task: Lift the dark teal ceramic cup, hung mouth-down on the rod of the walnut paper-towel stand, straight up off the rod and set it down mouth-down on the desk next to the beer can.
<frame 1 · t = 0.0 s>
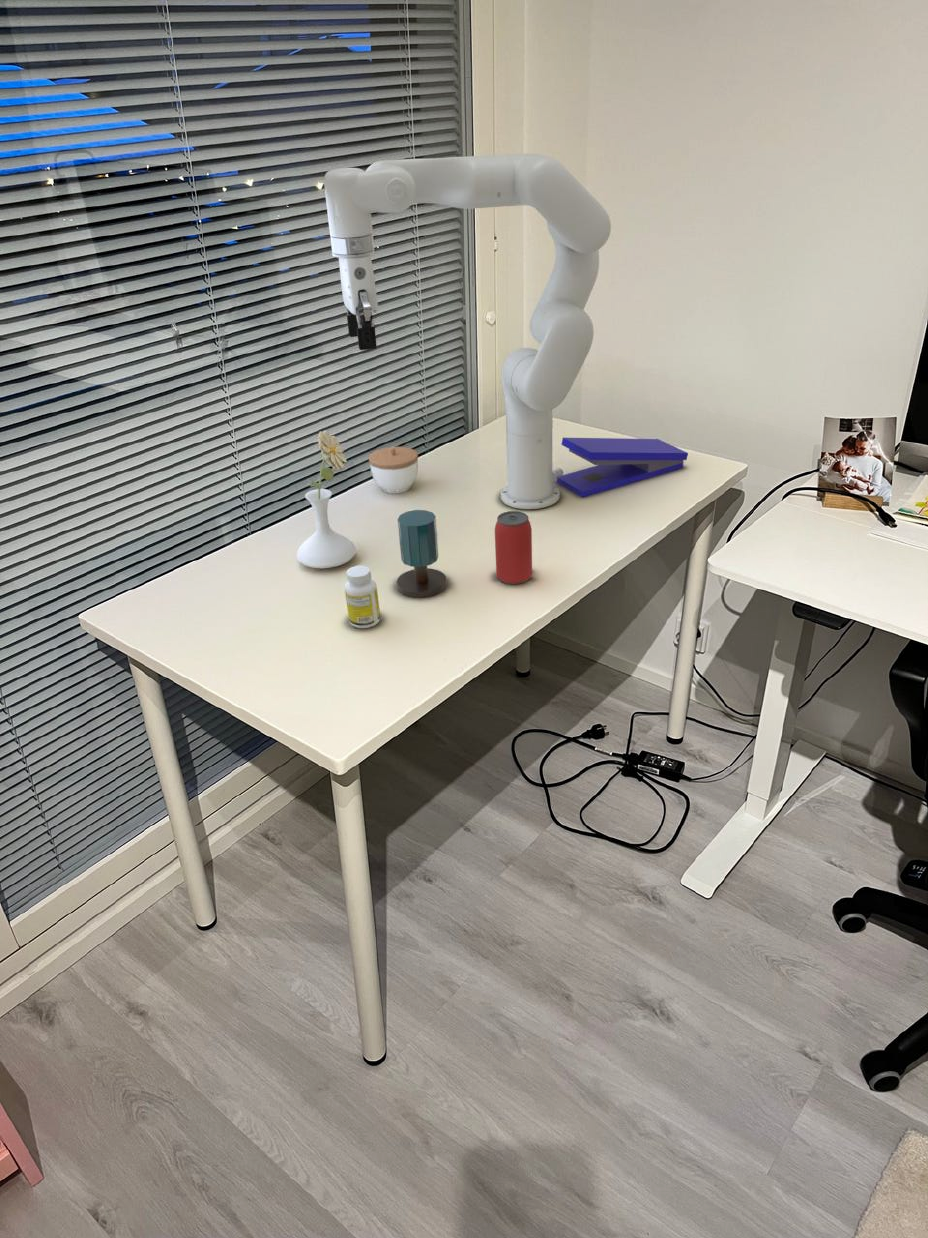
hand: (362, 342, 178), 37 cm above the table, tool pointing down, fingers open, 9 cm apart
cup: (419, 558, 172), point 6 cm above the table, touching holder
stapler: (621, 475, 213), on the table
flower in vase: (330, 559, 186), on the table
supplement bottle: (364, 621, 165), on the table
holder: (422, 585, 174), on the table
trinket box: (396, 488, 213), on the table
beer can: (514, 577, 176), on the table
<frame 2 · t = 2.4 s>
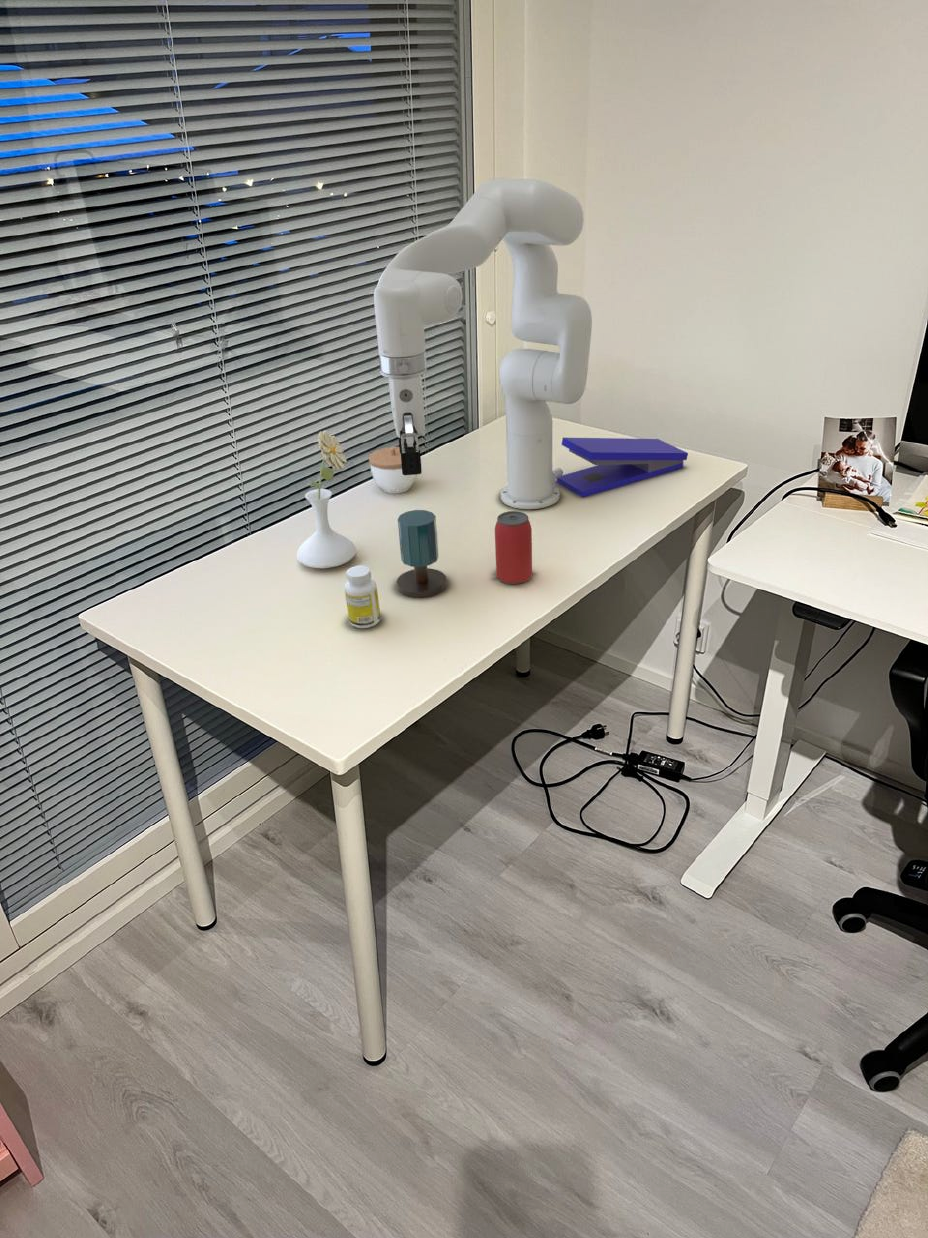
hand: (410, 463, 162), 24 cm above the table, tool pointing down, fingers open, 9 cm apart
nothing on the table moved.
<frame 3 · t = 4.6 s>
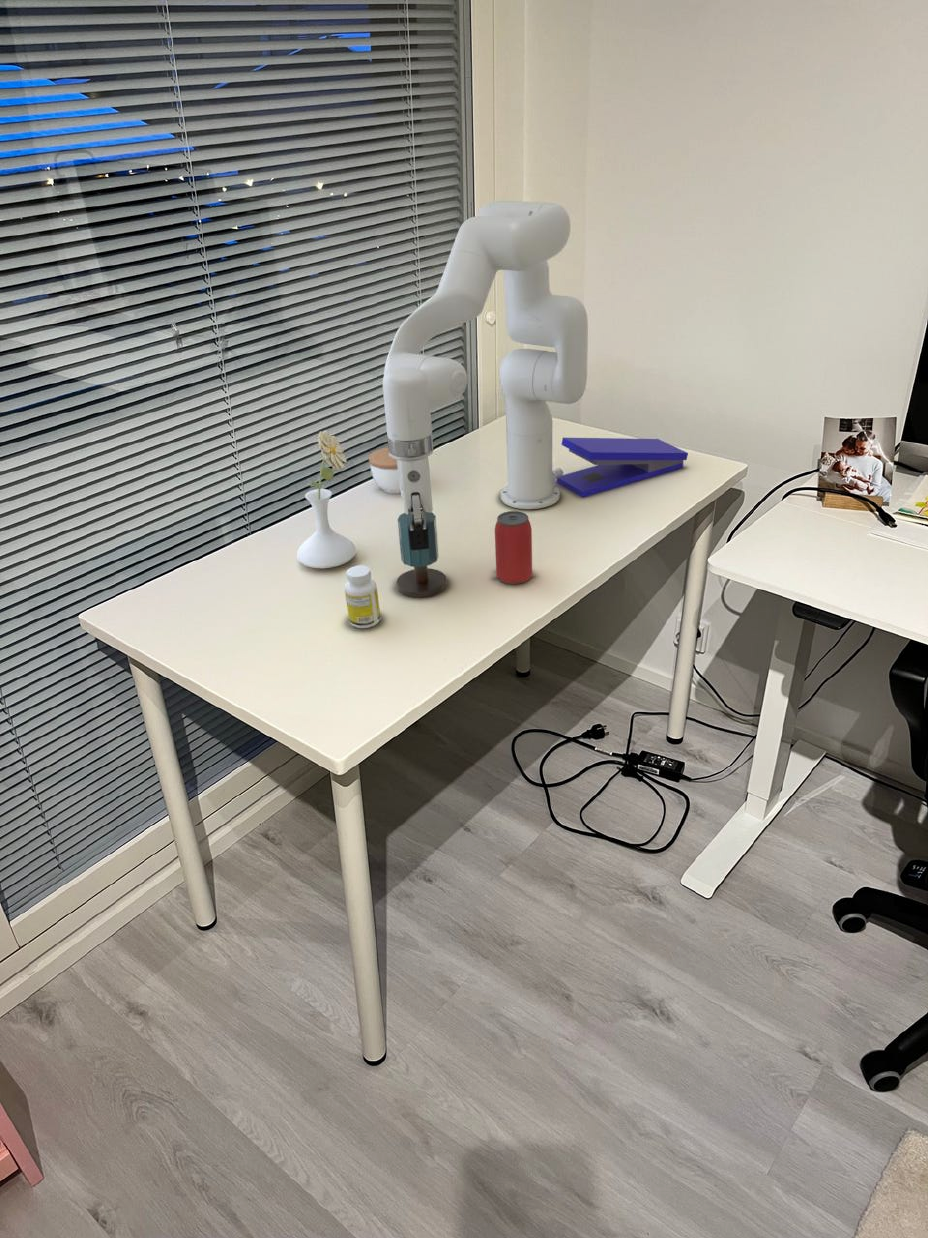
hand: (418, 538, 170), 10 cm above the table, tool pointing down, fingers closed on cup, 6 cm apart
cup: (419, 558, 172), point 6 cm above the table, touching gripper, holder
everything else where it was.
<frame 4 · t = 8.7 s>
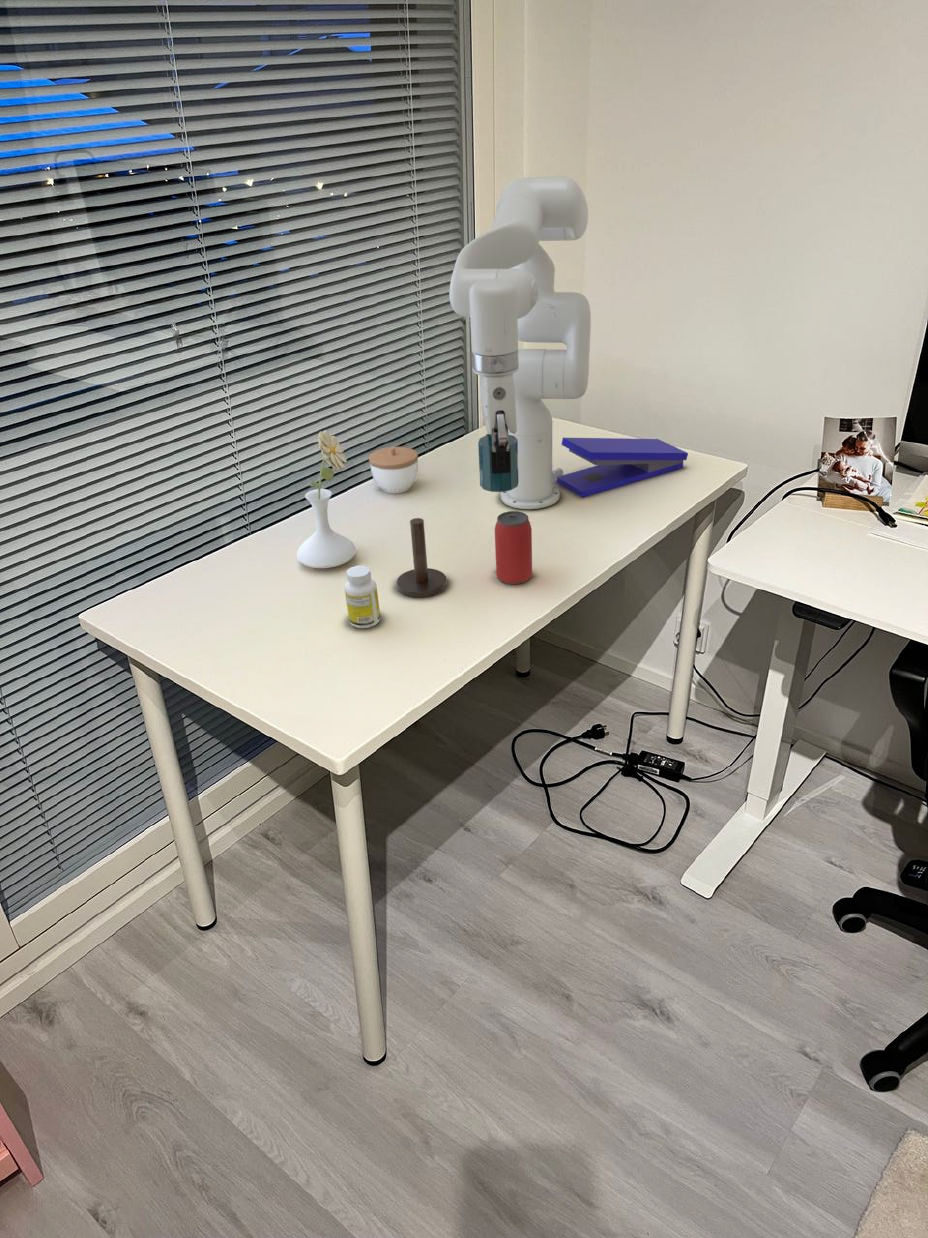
hand: (498, 463, 164), 22 cm above the table, tool pointing down, fingers closed on cup, 6 cm apart
cup: (499, 484, 166), point 19 cm above the table, touching gripper
everything else where it was.
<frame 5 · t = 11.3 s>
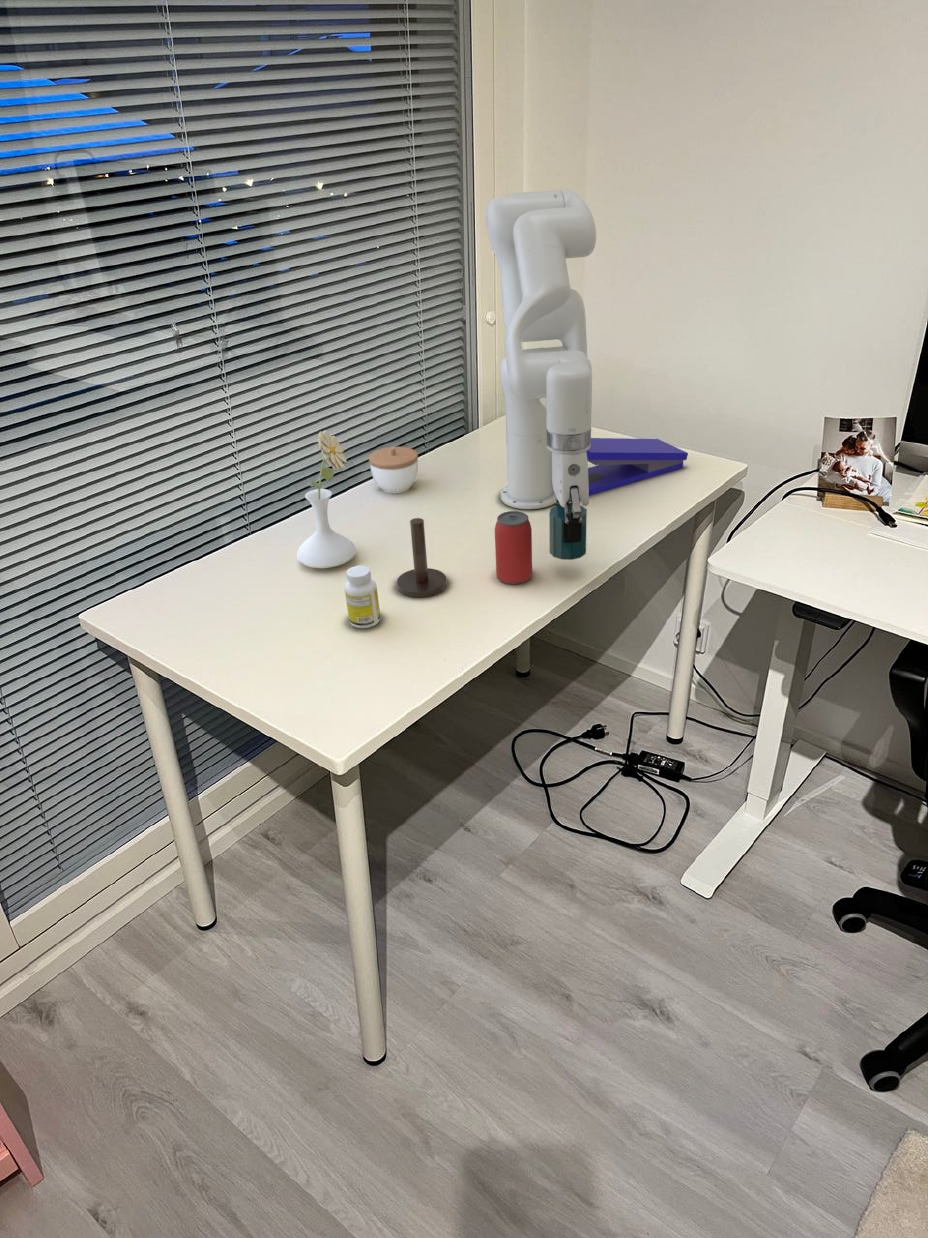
hand: (568, 531, 172), 8 cm above the table, tool pointing down, fingers closed on cup, 6 cm apart
cup: (567, 551, 174), point 4 cm above the table, touching gripper
everything else where it was.
when the fingers open (4 cm above the table, at t = 13.1 s): cup stays where it is, on the table.
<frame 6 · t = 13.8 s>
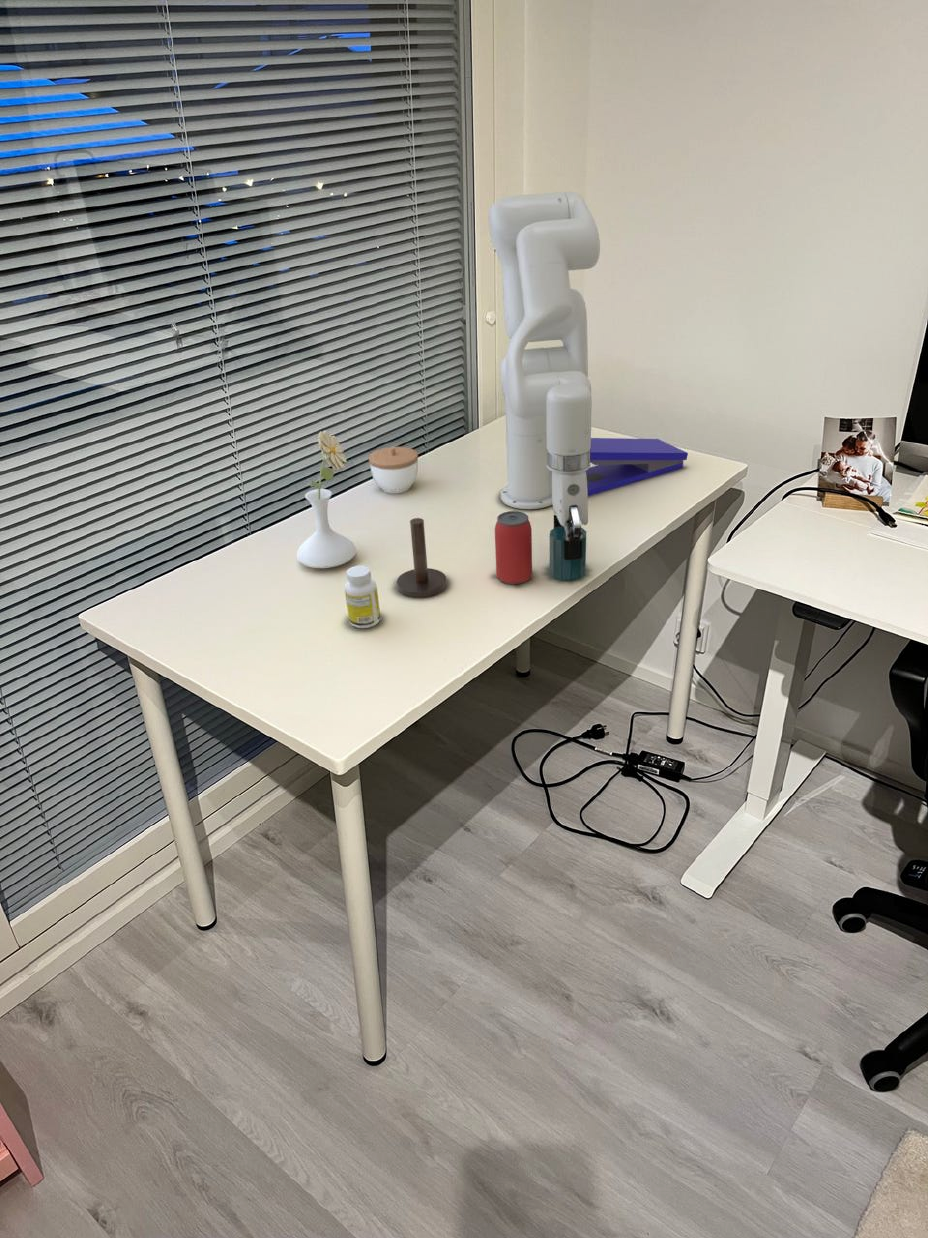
hand: (567, 546, 174), 5 cm above the table, tool pointing down, fingers open, 9 cm apart
cup: (567, 572, 176), on the table
everything else where it was.
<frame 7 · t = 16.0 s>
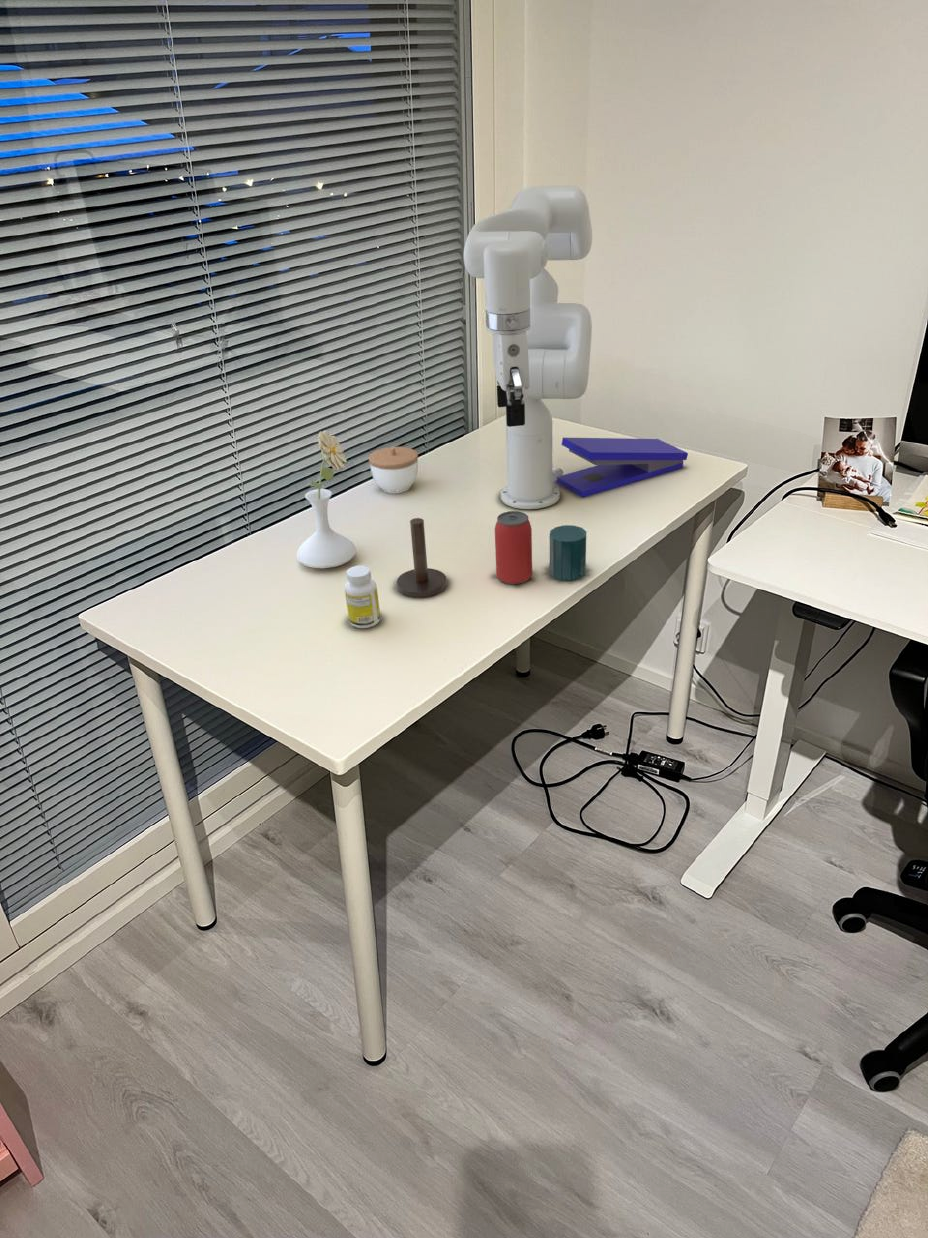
hand: (510, 415, 172), 27 cm above the table, tool pointing down, fingers open, 9 cm apart
nothing on the table moved.
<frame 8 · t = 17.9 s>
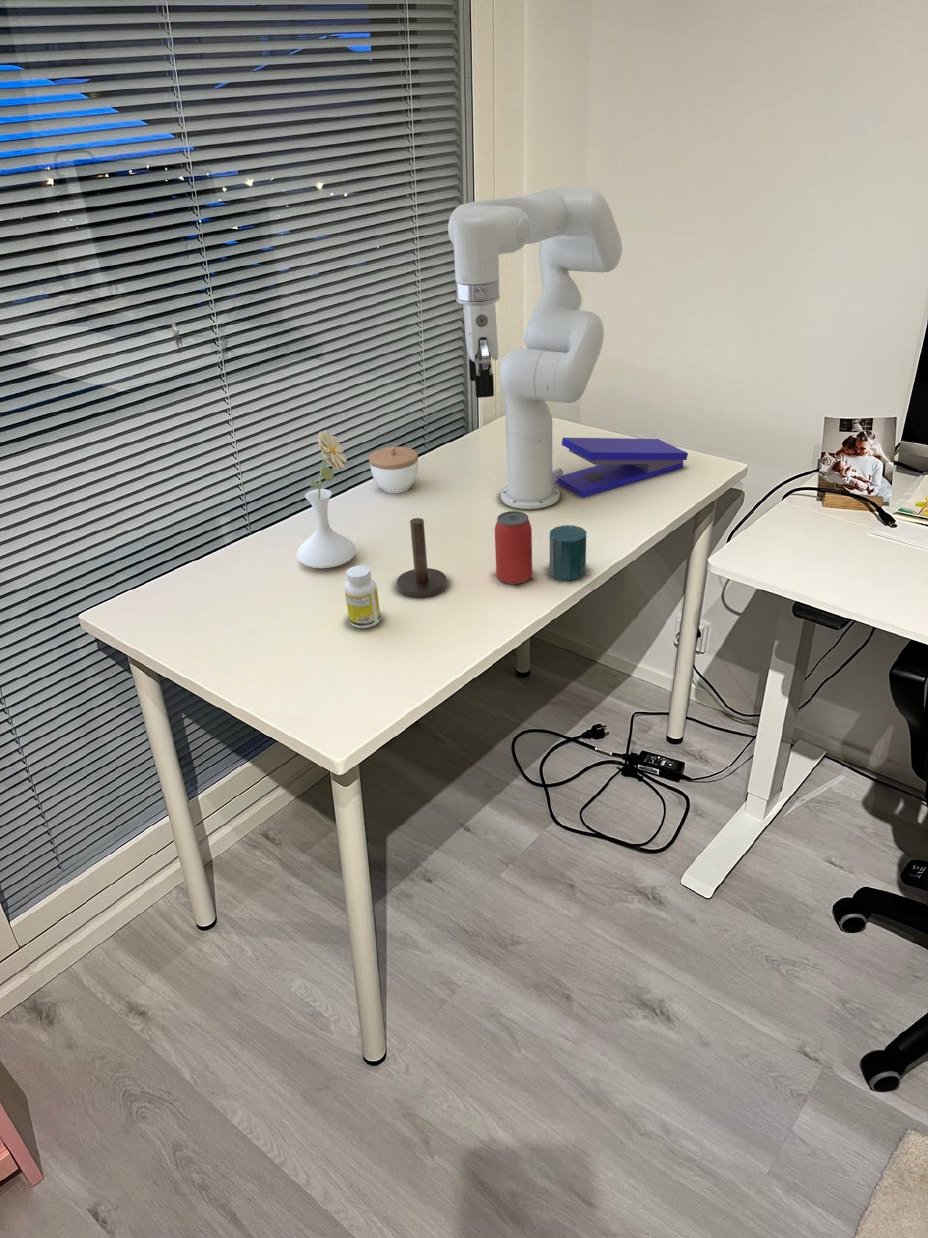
hand: (481, 388, 174), 30 cm above the table, tool pointing down, fingers open, 9 cm apart
nothing on the table moved.
at the end: cup on the table; cup 9.9 cm from the beer can (horizontally); cup tilted 0° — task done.
